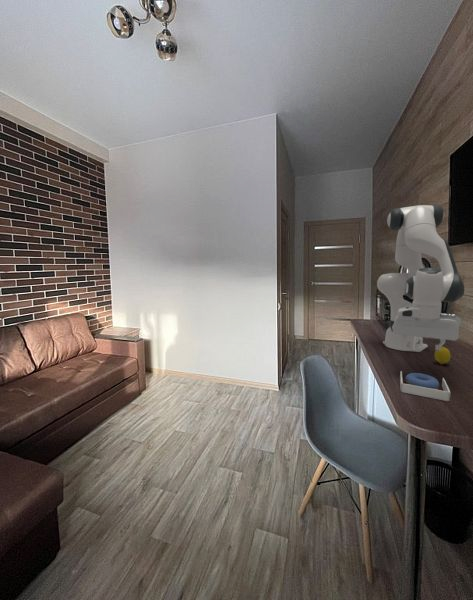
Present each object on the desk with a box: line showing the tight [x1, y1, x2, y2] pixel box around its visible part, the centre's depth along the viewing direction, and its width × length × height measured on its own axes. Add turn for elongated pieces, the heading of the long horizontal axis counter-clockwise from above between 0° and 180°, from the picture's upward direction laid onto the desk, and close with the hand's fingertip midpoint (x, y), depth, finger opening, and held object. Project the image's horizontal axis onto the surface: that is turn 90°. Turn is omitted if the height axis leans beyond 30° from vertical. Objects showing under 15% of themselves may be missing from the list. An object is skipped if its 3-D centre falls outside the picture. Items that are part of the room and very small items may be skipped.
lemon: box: [433, 346, 451, 365], centre depth 117 cm, size 6×6×8 cm
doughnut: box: [404, 372, 440, 390], centre depth 95 cm, size 10×10×5 cm
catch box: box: [399, 370, 451, 403], centre depth 93 cm, size 13×13×3 cm
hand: (422, 348), depth 101 cm, fingers open, 8 cm apart
